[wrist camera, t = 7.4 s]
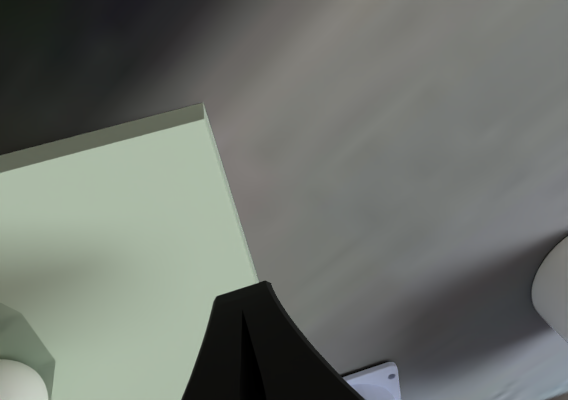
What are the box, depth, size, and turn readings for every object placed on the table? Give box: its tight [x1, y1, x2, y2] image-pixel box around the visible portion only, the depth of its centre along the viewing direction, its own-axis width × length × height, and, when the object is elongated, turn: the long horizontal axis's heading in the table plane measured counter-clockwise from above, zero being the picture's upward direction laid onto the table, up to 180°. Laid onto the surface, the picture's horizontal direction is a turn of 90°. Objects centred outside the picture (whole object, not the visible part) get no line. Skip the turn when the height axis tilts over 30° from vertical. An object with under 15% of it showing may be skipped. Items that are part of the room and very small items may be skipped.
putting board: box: [0, 103, 259, 400], centre depth 17 cm, size 14×20×3 cm
